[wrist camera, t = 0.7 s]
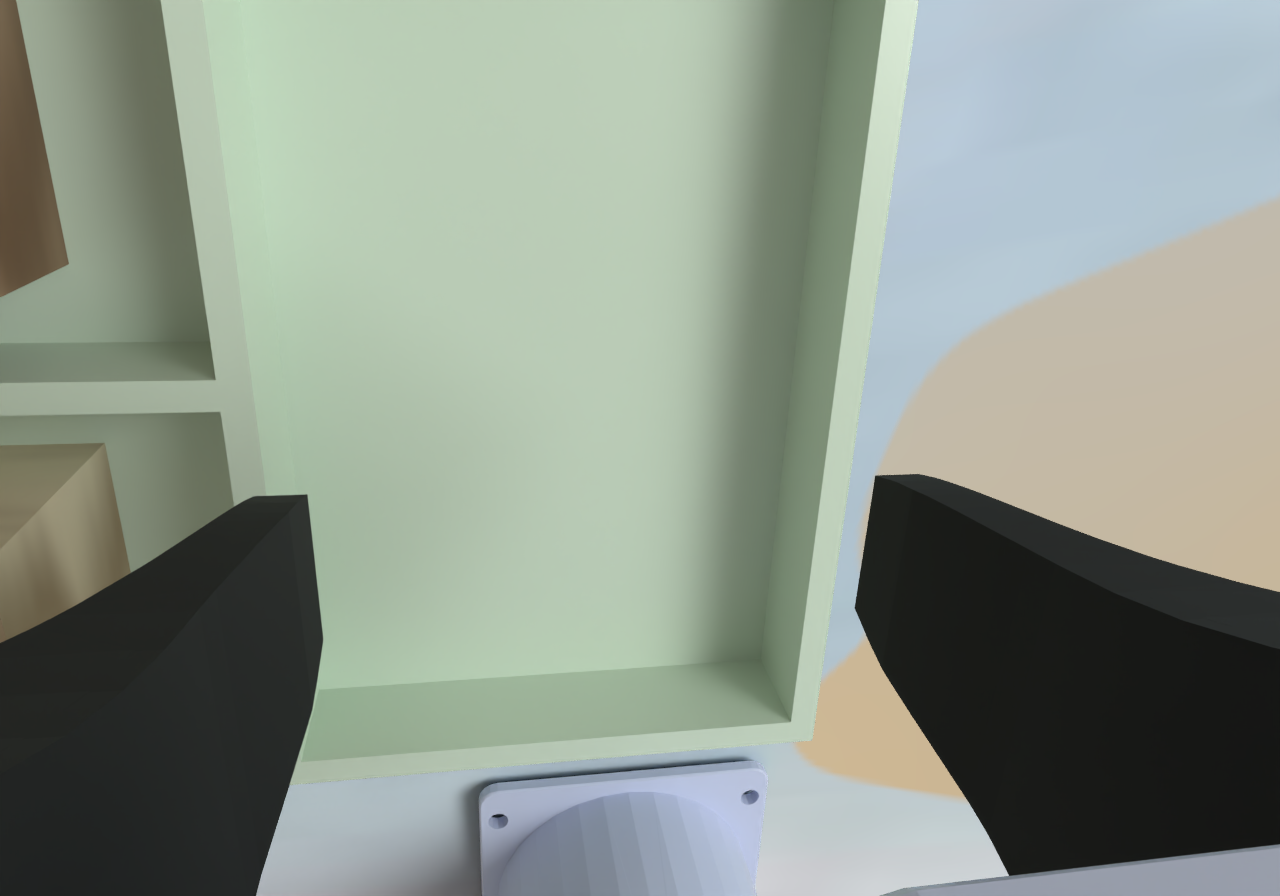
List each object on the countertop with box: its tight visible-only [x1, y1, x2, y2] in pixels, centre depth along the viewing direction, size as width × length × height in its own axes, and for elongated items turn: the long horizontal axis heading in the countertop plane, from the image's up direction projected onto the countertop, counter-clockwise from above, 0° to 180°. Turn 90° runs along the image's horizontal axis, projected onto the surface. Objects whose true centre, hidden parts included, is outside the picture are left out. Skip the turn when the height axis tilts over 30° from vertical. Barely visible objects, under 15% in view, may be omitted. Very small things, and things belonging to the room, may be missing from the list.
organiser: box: [0, 0, 919, 785], centre depth 18 cm, size 18×24×3 cm
